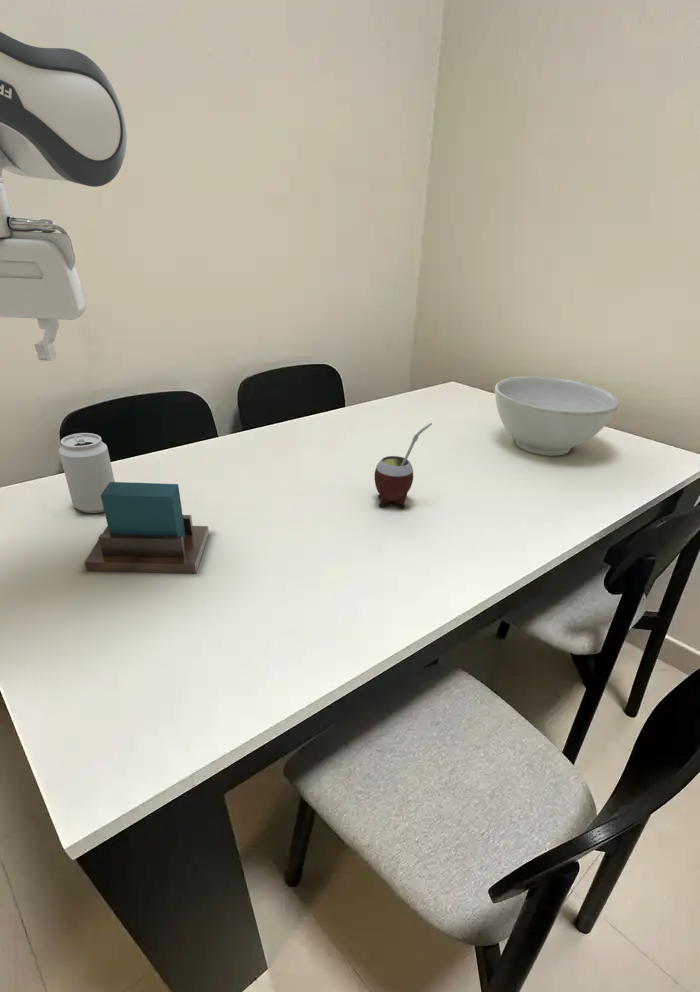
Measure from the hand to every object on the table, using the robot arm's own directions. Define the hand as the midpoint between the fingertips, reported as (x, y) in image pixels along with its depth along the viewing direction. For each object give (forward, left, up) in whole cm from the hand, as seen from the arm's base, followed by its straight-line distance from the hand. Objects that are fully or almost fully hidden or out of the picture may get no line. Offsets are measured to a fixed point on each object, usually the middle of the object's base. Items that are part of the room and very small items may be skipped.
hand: (7, 357), depth 69 cm
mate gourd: (+51, +25, -29) cm, 64 cm away
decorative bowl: (+89, +57, -29) cm, 110 cm away
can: (-2, +20, -29) cm, 36 cm away
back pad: (+11, +5, -28) cm, 30 cm away
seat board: (+11, +5, -29) cm, 31 cm away
